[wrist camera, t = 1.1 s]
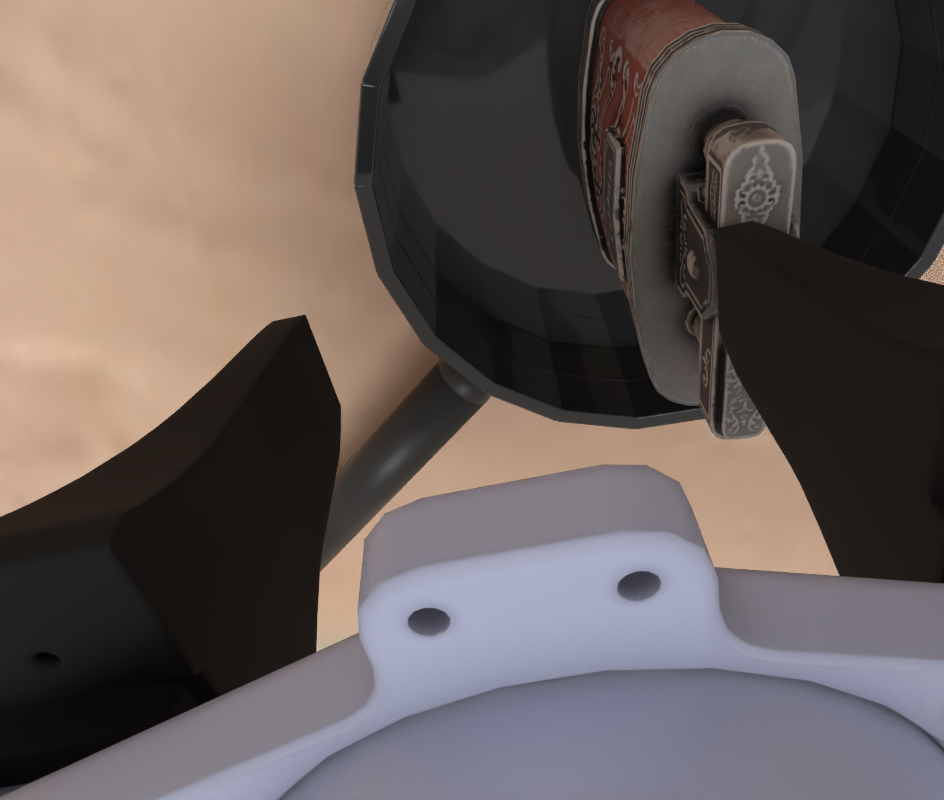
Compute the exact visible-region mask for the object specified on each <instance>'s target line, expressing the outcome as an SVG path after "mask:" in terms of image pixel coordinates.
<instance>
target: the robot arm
mask: <svg viewBox="0 0 944 800" xmlns="http://www.w3.org/2000/svg"><path fill="white" fill-rule="evenodd" d="M715 240H716V265H717V291H718V316H719V332H720V335H721V337H722V340H723V343H724V345H725V348H726V350H727V353H728V356H729V358H730V360H731V363H732V365H733V368H734V370H735V372H736V375H737V377H738V378H739V380H740V382H741V384H742V385H743V387H744V389H745V390H746V392H747V394H748V395H749V397H750V399H751V400H752V402H753V404H754V406H755V407H756V409H757V411H758V412H759V414H760V416H761V417H762V419H763V420H764V422H765V424H766V425H767V427H768V429H769V430H770V432H771V434H772V435H773V437H774V439H775V440H776V442H777V444H778V445H779V447H780V449H781V450H782V452H783V454H784V455H785V457H786V459H787V460H788V462H789V464H790V465H791V467H792V469H793V471H794V473H795V475H796V477H797V478H798V480H799V482H800V484H801V486H802V489H803V491H804V493H805V495H806V498H807V500H808V502H809V504H810V507H811V509H812V511H813V513H814V516H815V518H816V520H817V523H818V525H819V527H820V529H821V532H822V534H823V537H824V539H825V541H826V544H827V546H828V549H829V551H830V553H831V556H832V558H833V561H834V563H835V566H836V568H837V570H838V573H839V575H840V576H830V575H816V574H802V573H788V572H774V571H760V570H746V569H732V568H717V567H714V566H713V563H712V560H711V558H710V555H709V552H708V550H707V547H706V544H705V542H704V539H703V536H702V534H701V531H700V528H699V526H698V523H697V520H696V518H695V515H694V512H693V510H692V508H691V505H690V503H689V501H688V499H687V497H686V495H685V493H684V491H683V489H682V487H681V485H680V483H679V482H678V481H676V480H674V479H672V478H670V477H668V476H666V475H664V474H662V473H660V472H658V471H657V470H655V469H653V468H651V467H649V466H647V465H598V466H593V467H587V468H582V469H576V470H571V471H566V472H560V473H555V474H549V475H544V476H539V477H533V478H528V479H522V480H517V481H512V482H506V483H501V484H495V485H490V486H485V487H479V488H474V489H468V490H463V491H458V492H452V493H447V494H441V495H436V496H431V497H425V498H421V499H419V500H416V501H414V502H411V503H409V504H407V505H404V506H402V507H399V508H397V509H394V510H392V511H390V512H387V513H385V514H384V515H383V517H382V518H381V519H380V521H379V522H378V523H377V524H376V526H375V527H374V528H373V529H372V531H371V532H370V533H369V535H368V536H367V537H366V538H365V542H364V552H363V562H362V572H361V582H360V592H359V602H358V625H359V633H357V634H355V635H353V636H351V637H348V638H346V639H344V640H342V641H340V642H337V643H335V644H333V645H331V646H329V647H326V648H324V649H322V650H320V651H318V652H316V641H317V612H318V594H319V576H320V565H321V557H322V550H323V544H324V538H325V533H326V528H327V522H328V517H329V511H330V506H331V500H332V495H333V489H334V484H335V478H336V472H337V467H338V461H339V454H340V436H341V405H340V403H339V400H338V398H337V395H336V393H335V390H334V387H333V385H332V382H331V380H330V377H329V374H328V372H327V369H326V367H325V364H324V361H323V359H322V356H321V354H320V351H319V349H318V346H317V343H316V341H315V338H314V336H313V333H312V330H311V328H310V325H309V323H308V320H307V318H306V315H301V316H297V317H292V318H287V319H282V320H278V321H273V322H271V323H270V324H269V325H267V326H266V327H265V328H264V329H263V330H261V331H260V332H259V333H258V334H257V335H256V336H255V337H254V338H253V339H252V340H251V341H250V342H249V343H248V344H247V345H246V346H245V347H244V348H243V349H242V350H241V351H240V352H239V353H238V354H237V355H236V356H235V357H234V358H233V359H232V360H231V361H230V362H229V363H228V364H227V365H226V366H225V367H224V368H223V369H222V370H221V371H220V372H219V373H218V374H217V375H216V376H215V377H214V378H213V379H212V380H211V381H209V382H208V383H207V384H206V385H205V386H204V387H203V388H202V389H201V390H199V391H198V392H197V393H196V394H195V395H194V396H193V397H192V398H191V399H190V400H188V401H187V402H186V403H185V404H184V405H183V406H182V407H181V408H180V409H178V410H177V411H176V412H175V413H174V414H173V415H171V416H170V417H169V418H168V419H166V420H165V421H164V422H163V423H161V424H160V425H159V426H158V427H156V428H155V429H154V430H152V431H151V432H149V433H148V434H147V435H145V436H144V437H143V438H141V439H140V440H139V441H137V442H136V443H134V444H133V445H132V446H130V447H129V448H127V449H126V450H124V451H122V452H121V453H119V454H118V455H116V456H114V457H113V458H111V459H110V460H108V461H106V462H105V463H103V464H102V465H100V466H98V467H97V468H95V469H94V470H92V471H90V472H89V473H87V474H86V475H84V476H82V477H80V478H79V479H77V480H75V481H73V482H71V483H69V484H68V485H66V486H64V487H62V488H60V489H58V490H56V491H54V492H52V493H50V494H48V495H46V496H44V497H42V498H40V499H38V500H37V501H35V502H33V503H30V504H28V505H26V506H24V507H22V508H20V509H18V510H15V511H13V512H11V513H8V514H6V515H4V516H1V517H0V800H944V285H940V284H936V283H932V282H928V281H923V280H919V279H915V278H910V277H906V276H903V275H899V274H895V273H892V272H888V271H885V270H882V269H879V268H876V267H873V266H870V265H867V264H864V263H861V262H858V261H855V260H852V259H849V258H846V257H844V256H841V255H838V254H836V253H833V252H831V251H828V250H825V249H823V248H820V247H818V246H816V245H813V244H811V243H808V242H806V241H803V240H801V239H799V238H796V237H794V236H791V235H789V234H787V233H784V232H782V231H779V230H777V229H774V228H772V227H769V226H767V225H764V224H761V223H758V222H755V221H748V222H744V223H739V224H734V225H729V226H725V227H720V228H715Z"/></svg>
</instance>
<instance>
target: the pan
mask: <svg viewBox="0 0 944 800" xmlns="http://www.w3.org/2000/svg"><path fill="white" fill-rule="evenodd" d="M694 1H695V2H696V3H698V4H699V5H701V6H702V7H703V8H705V9H706V10H708V11H709V12H711V13H712V14H714V15H715V16H717V17H718V18H720V19H721V20H722V21H724V22H725V23H739V24H742V25H744V26H747V27H749V28H752V29H754V30H757V31H759V32H761V33H763V34H764V35H766V36H767V37H769V38H770V39H772V40H773V41H774V42H775V43H776V44H777V45H778V46H779V47H780V48H781V49H782V50H783V51H784V52H785V53H786V54H787V55H788V56H789V59H790V62H791V65H792V68H793V71H794V74H795V80H796V91H797V102H798V113H799V124H800V135H801V146H802V183H801V210H800V234H799V236H800V239H801V240H803V241H806V242H808V243H811V244H813V245H816V246H818V247H820V248H823V249H825V250H828V251H831V252H833V253H836V254H838V255H841V256H844V257H846V258H849V259H852V260H855V261H858V262H861V263H864V264H867V265H870V266H873V267H876V268H879V269H882V270H885V271H888V272H892V273H895V274H899V275H903V276H906V277H910V278H915V279H919V278H920V277H921V276H922V275H923V274H924V273H925V272H926V270H927V269H928V268H929V267H930V266H931V265H932V264H933V261H935V259H936V257H937V256H938V254H939V252H940V250H941V248H942V246H943V244H944V0H694ZM590 3H591V0H389V3H388V5H387V8H386V10H385V12H384V15H383V17H382V20H381V22H380V25H379V27H378V30H377V32H376V35H375V37H374V40H373V42H372V46H371V49H370V53H369V56H368V60H367V63H366V67H365V70H364V74H363V77H362V82H361V88H360V102H359V117H358V131H357V145H356V160H355V174H354V185H355V186H354V188H355V192H356V196H357V200H358V203H359V207H360V211H361V215H362V219H363V223H364V227H365V230H366V234H367V238H368V242H369V246H370V250H371V254H372V257H373V261H374V265H375V269H376V272H377V274H378V277H379V278H380V280H381V281H382V283H383V284H384V286H385V287H386V289H387V290H388V292H389V293H390V295H391V296H392V298H393V299H394V301H395V302H396V304H397V306H398V307H399V309H400V310H401V312H402V313H403V315H404V316H405V318H406V319H407V321H408V322H409V324H410V325H411V327H412V328H413V330H414V331H415V333H416V334H417V336H418V338H419V339H420V341H421V342H422V343H423V344H424V345H425V346H426V347H427V348H428V349H430V350H431V351H432V352H433V353H435V354H436V355H437V356H439V357H440V358H441V359H442V360H444V361H445V362H446V363H447V364H449V365H450V366H451V367H452V368H454V369H455V370H456V371H457V372H459V373H460V374H461V375H462V376H464V377H465V378H466V379H467V380H469V381H470V382H471V383H472V384H474V385H475V386H476V387H478V388H479V389H480V390H481V391H483V392H485V393H486V394H488V395H491V396H493V397H496V398H498V399H501V400H503V401H506V402H508V403H511V404H514V405H516V406H519V407H521V408H524V409H526V410H529V411H531V412H534V413H536V414H539V415H542V416H544V417H547V418H549V419H552V420H554V421H558V422H567V423H577V424H587V425H597V426H607V427H617V428H627V429H635V428H636V429H641V428H648V427H654V426H661V425H668V424H674V423H681V422H687V421H694V420H701V419H706V418H705V416H704V414H703V412H702V410H701V407H700V405H694V406H687V405H684V404H680V403H676V402H673V401H670V400H668V399H667V398H666V397H664V396H663V395H661V394H660V393H658V392H657V390H656V388H655V386H654V385H653V383H652V381H651V379H650V376H649V374H648V371H647V369H646V366H645V364H644V360H643V356H642V352H641V348H640V344H639V340H638V336H637V332H636V328H635V324H634V320H633V316H632V312H631V308H630V303H629V301H628V298H627V296H626V294H625V291H624V289H623V286H622V284H621V281H620V279H619V276H618V274H617V271H616V269H614V268H613V267H612V266H610V265H609V264H608V263H607V262H606V260H605V258H604V257H603V255H602V253H601V250H600V248H599V245H598V243H597V240H596V236H595V232H594V229H593V225H592V221H591V217H590V213H589V210H588V206H587V202H586V198H585V194H584V187H583V179H582V172H581V164H580V156H579V148H578V141H577V130H578V77H579V69H580V62H581V54H582V46H583V38H584V30H585V23H586V16H587V13H588V10H589V7H590Z"/></svg>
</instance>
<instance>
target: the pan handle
mask: <svg viewBox="0 0 944 800" xmlns="http://www.w3.org/2000/svg"><path fill="white" fill-rule="evenodd" d="M490 396H491V395H488V394H486V393H485V392H483V391H481V390H480V389H479V388H478V387H476V386H475V385H474V384H472V383H471V382H470V381H469V380H467V379H466V378H465V377H464V376H462V375H461V374H460V373H459V372H457V371H456V370H455V369H454V368H452V367H451V366H450V365H449V364H447V363H446V362H445V361H444V360H442V359H441V360H440V361H439V362H438V363H437V364H436V365H435V366H434V367H433V369H432V370H431V371H430V372H429V373H428V374H427V375H426V376H425V377H424V378H423V380H422V381H421V382H420V383H419V384H418V385H417V386H416V387H415V388H414V390H413V391H412V392H411V393H410V394H409V395H408V396H407V397H406V398H405V399H404V401H403V402H402V403H401V404H400V405H399V406H398V407H397V408H396V409H395V410H394V412H393V413H392V414H391V415H390V416H389V417H388V418H387V419H386V420H385V422H384V423H383V424H382V425H381V426H380V427H379V428H378V429H377V430H376V431H375V433H374V434H373V435H372V436H371V437H370V438H369V439H368V440H367V441H366V442H365V444H364V445H363V446H362V447H361V448H360V449H359V450H358V451H357V452H356V454H355V455H354V456H353V457H352V458H351V459H350V460H349V461H348V462H347V463H346V465H345V466H344V467H343V468H342V469H341V470H340V471H339V472H338V473H337V474H336V478H335V484H334V489H333V495H332V500H331V506H330V511H329V517H328V522H327V528H326V533H325V538H324V544H323V550H322V557H321V565H320V572H321V571H322V569H323V568H324V567H325V566H326V565H327V564H328V563H329V562H330V561H331V560H332V559H333V558H334V557H335V556H336V555H337V554H338V553H339V552H340V551H341V550H342V549H343V548H344V547H345V546H346V545H347V544H348V543H349V542H350V541H351V540H352V539H353V538H354V537H355V536H356V535H357V534H358V533H359V532H360V531H361V530H362V529H363V528H364V526H365V525H366V524H367V523H368V522H369V521H370V520H371V519H372V518H373V517H374V516H375V515H376V514H377V513H378V512H379V511H380V510H381V509H382V508H383V507H384V506H385V505H386V504H387V503H388V502H389V501H390V500H391V499H392V498H393V497H394V496H395V495H396V494H397V493H398V492H399V491H400V490H401V489H402V488H403V487H404V486H405V485H406V483H407V482H408V481H409V480H410V479H411V478H412V477H413V476H414V475H415V474H416V473H417V472H418V471H419V470H420V469H421V468H422V467H423V466H424V465H425V464H426V463H427V462H428V461H429V460H430V459H431V458H432V457H433V456H434V455H435V454H436V453H437V452H438V451H439V450H440V449H441V448H442V447H443V446H444V445H445V444H446V443H447V442H448V440H449V439H450V438H451V437H452V436H453V435H454V434H455V433H456V432H457V431H458V430H459V429H460V428H461V427H462V426H463V425H464V424H465V423H466V422H467V421H468V420H469V419H470V418H471V417H472V416H473V415H474V414H475V413H476V412H477V411H478V410H479V409H480V408H481V407H482V406H483V405H484V404H485V403H486V402H487V400H488V399H489V398H490Z"/></svg>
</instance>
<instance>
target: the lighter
mask: <svg viewBox="0 0 944 800" xmlns="http://www.w3.org/2000/svg"><path fill="white" fill-rule="evenodd" d="M577 141H578V148H579V156H580V164H581V172H582V179H583V187H584V194H585V198H586V202H587V206H588V210H589V213H590V217H591V221H592V225H593V229H594V232H595V236H596V240H597V243H598V245H599V248H600V250H601V253H602V255H603V257H604V258H605V260H606V262H607V263H608V264H609V265H610V266H612V267H613V268H614V269H616V271H617V274H618V276H619V279H620V281H621V284H622V286H623V289H624V291H625V294H626V296H627V298H628V301H629V303H630V308H631V312H632V316H633V320H634V324H635V328H636V332H637V336H638V340H639V344H640V348H641V352H642V356H643V360H644V364H645V366H646V369H647V371H648V374H649V376H650V379H651V381H652V383H653V385H654V386H655V388H656V390H657V392H658V393H660V394H661V395H663V396H664V397H666V398H667V399H668V400H670V401H673V402H676V403H680V404H684V405H687V406H694V405H700V407H701V410H702V412H703V414H704V416H705V418H706V420H707V423H708V425H709V427H710V429H711V431H712V433H713V434H714V435H715V437H718V438H720V439H745V438H750V437H754V436H757V435H759V434H760V433H761V432H762V431H763V430H764V428H765V427H766V426H767V425H766V424H765V422H764V420H763V419H762V417H761V416H760V414H759V412H758V411H757V409H756V407H755V406H754V404H753V402H752V400H751V399H750V397H749V395H748V394H747V392H746V390H745V389H744V387H743V385H742V384H741V382H740V380H739V378H738V377H737V375H736V372H735V370H734V368H733V365H732V363H731V360H730V358H729V356H728V353H727V350H726V348H725V345H724V343H723V340H722V337H721V335H720V332H719V316H718V291H717V265H716V240H715V228H720V227H725V226H729V225H734V224H739V223H744V222H748V221H755V222H758V223H761V224H764V225H767V226H769V227H772V228H774V229H777V230H779V231H782V232H784V233H787V234H789V235H791V236H794V237H796V238H799V239H800V236H799V234H800V210H801V183H802V146H801V135H800V124H799V113H798V102H797V91H796V80H795V74H794V71H793V68H792V65H791V62H790V59H789V56H788V55H787V54H786V53H785V52H784V51H783V50H782V49H781V48H780V47H779V46H778V45H777V44H776V43H775V42H774V41H773V40H772V39H770V38H769V37H767V36H766V35H764V34H763V33H761V32H759V31H757V30H754V29H752V28H749V27H747V26H744V25H742V24H739V23H725V22H724V21H722V20H721V19H720V18H718V17H717V16H715V15H714V14H712V13H711V12H709V11H708V10H706V9H705V8H703V7H702V6H701V5H699V4H698V3H696V2H695V1H694V0H591V3H590V7H589V10H588V13H587V16H586V23H585V30H584V38H583V46H582V54H581V62H580V69H579V77H578V130H577Z"/></svg>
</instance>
